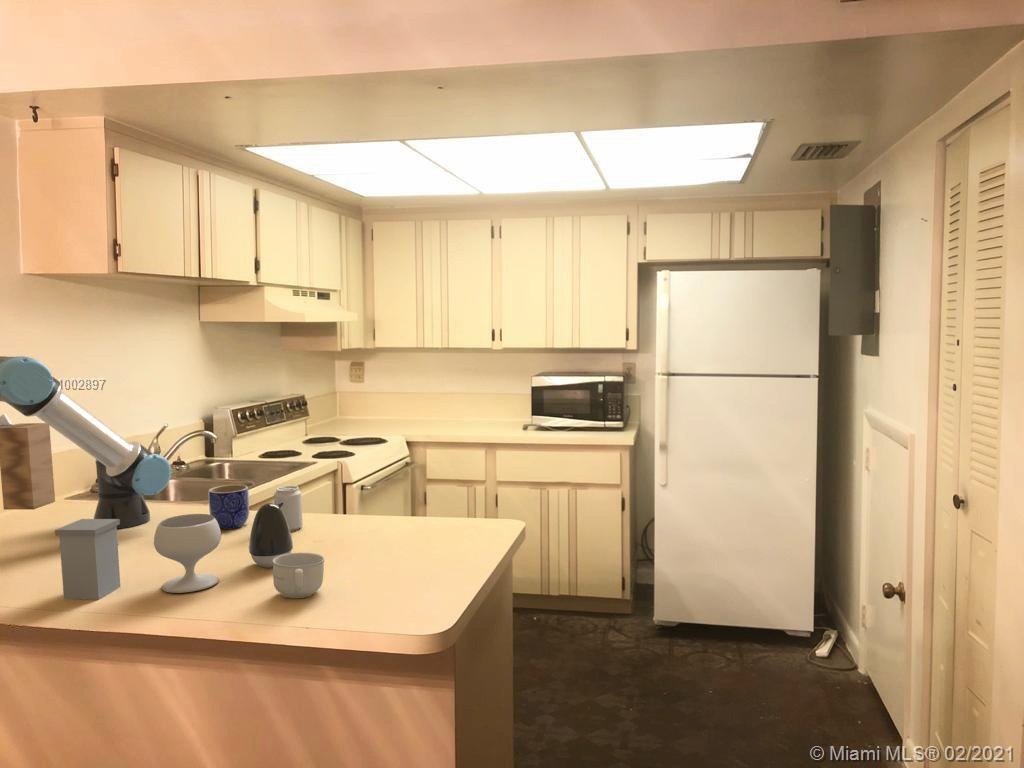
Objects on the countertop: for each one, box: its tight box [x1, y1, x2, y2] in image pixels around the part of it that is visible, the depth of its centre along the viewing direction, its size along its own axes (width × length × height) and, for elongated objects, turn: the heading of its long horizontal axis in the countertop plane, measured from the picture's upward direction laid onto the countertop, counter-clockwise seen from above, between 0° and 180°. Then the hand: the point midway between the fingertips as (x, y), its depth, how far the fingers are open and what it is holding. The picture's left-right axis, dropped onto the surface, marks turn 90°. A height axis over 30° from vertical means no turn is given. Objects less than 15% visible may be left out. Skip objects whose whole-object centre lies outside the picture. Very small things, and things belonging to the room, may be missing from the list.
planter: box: [207, 484, 250, 530], centre depth 226 cm, size 11×11×11 cm
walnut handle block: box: [0, 422, 56, 511], centre depth 173 cm, size 16×7×18 cm, turn 85°
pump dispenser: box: [248, 502, 294, 568], centre depth 190 cm, size 10×10×15 cm
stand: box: [54, 518, 121, 600], centre depth 172 cm, size 9×9×16 cm
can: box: [273, 485, 303, 532], centre depth 222 cm, size 8×8×12 cm
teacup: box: [272, 552, 325, 599], centre depth 168 cm, size 14×11×8 cm
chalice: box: [153, 513, 222, 594], centre depth 176 cm, size 14×14×15 cm
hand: (1, 420), depth 172 cm, fingers closed on walnut handle block, 3 cm apart
